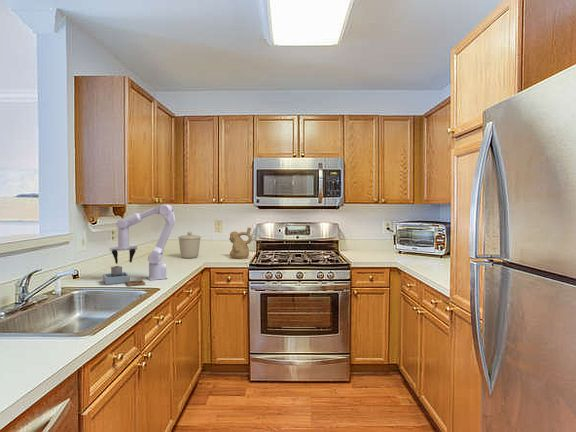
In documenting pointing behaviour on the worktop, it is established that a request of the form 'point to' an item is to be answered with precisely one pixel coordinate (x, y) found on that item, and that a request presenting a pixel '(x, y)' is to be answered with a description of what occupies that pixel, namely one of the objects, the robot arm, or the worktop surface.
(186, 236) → the canister
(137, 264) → the worktop surface
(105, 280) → the bin
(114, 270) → the strut
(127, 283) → the socket
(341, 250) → the worktop surface
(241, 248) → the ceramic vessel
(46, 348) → the worktop surface
